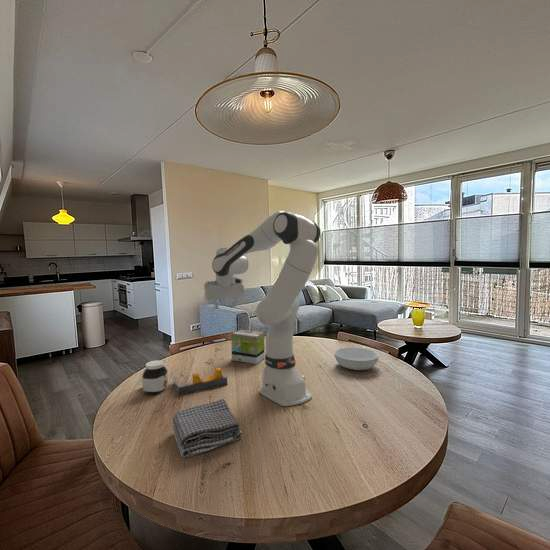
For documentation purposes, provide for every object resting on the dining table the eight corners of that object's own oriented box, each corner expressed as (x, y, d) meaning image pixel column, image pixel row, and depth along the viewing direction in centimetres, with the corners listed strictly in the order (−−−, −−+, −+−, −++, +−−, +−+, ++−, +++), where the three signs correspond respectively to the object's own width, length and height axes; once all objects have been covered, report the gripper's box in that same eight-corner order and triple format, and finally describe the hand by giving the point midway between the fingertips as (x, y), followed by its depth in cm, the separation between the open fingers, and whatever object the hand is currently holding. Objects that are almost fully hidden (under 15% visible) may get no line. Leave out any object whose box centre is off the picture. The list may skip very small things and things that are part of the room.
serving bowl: (387, 368, 143) (387, 354, 143) (358, 379, 132) (358, 364, 131) (353, 356, 160) (353, 344, 160) (325, 365, 149) (325, 351, 148)
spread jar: (157, 397, 117) (155, 368, 116) (131, 394, 119) (130, 366, 118) (173, 384, 128) (172, 357, 128) (149, 382, 131) (148, 356, 130)
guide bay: (227, 384, 127) (227, 377, 127) (179, 395, 118) (178, 388, 118) (218, 374, 139) (217, 368, 138) (173, 383, 129) (173, 376, 129)
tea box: (231, 361, 156) (230, 333, 155) (240, 355, 165) (240, 329, 164) (256, 364, 150) (256, 336, 149) (265, 358, 160) (264, 331, 159)
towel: (171, 433, 93) (170, 409, 92) (227, 417, 102) (226, 395, 101) (181, 463, 80) (180, 435, 79) (244, 441, 88) (244, 416, 88)
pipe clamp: (218, 380, 132) (217, 366, 132) (222, 384, 128) (221, 369, 128) (191, 387, 125) (191, 372, 125) (195, 391, 122) (194, 376, 121)
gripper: (205, 281, 142) (206, 310, 143) (245, 279, 151) (246, 306, 152) (202, 280, 147) (203, 308, 148) (241, 279, 157) (241, 304, 158)
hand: (225, 307), depth 150 cm, fingers open, 8 cm apart
